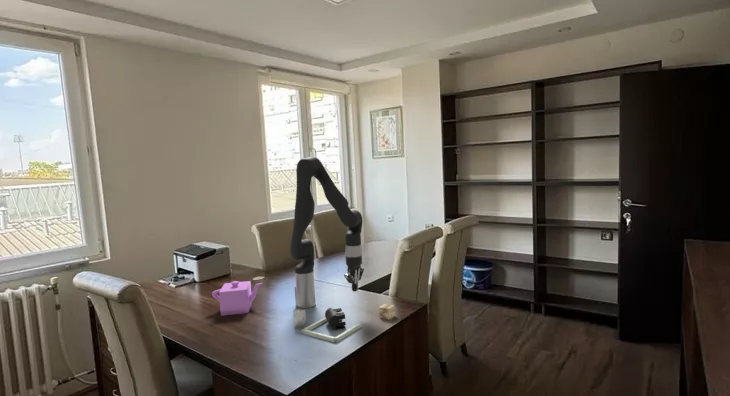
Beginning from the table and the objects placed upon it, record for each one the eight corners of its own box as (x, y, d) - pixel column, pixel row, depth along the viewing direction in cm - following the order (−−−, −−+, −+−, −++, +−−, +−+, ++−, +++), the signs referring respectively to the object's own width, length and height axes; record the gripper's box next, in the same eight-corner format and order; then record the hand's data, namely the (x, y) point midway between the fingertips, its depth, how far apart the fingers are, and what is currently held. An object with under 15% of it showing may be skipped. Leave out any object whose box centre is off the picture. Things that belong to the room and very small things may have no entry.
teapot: (263, 311, 195) (261, 283, 194) (210, 317, 191) (207, 288, 190) (266, 301, 210) (264, 275, 209) (216, 306, 206) (214, 279, 205)
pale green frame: (301, 333, 167) (301, 329, 167) (328, 319, 181) (328, 316, 181) (335, 342, 156) (335, 339, 156) (361, 327, 170) (361, 323, 170)
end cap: (325, 323, 177) (324, 308, 176) (340, 320, 179) (340, 305, 178) (329, 331, 167) (328, 316, 167) (346, 329, 169) (345, 313, 169)
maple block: (379, 317, 180) (379, 307, 179) (385, 314, 184) (384, 303, 183) (389, 319, 177) (388, 308, 176) (394, 316, 181) (394, 305, 181)
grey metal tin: (292, 327, 174) (291, 311, 173) (300, 323, 178) (299, 308, 177) (300, 329, 171) (299, 313, 170) (308, 325, 175) (307, 309, 174)
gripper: (355, 250, 190) (356, 285, 192) (338, 256, 179) (339, 293, 181) (368, 252, 186) (369, 288, 188) (351, 258, 175) (353, 296, 177)
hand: (354, 290), depth 185 cm, fingers closed
